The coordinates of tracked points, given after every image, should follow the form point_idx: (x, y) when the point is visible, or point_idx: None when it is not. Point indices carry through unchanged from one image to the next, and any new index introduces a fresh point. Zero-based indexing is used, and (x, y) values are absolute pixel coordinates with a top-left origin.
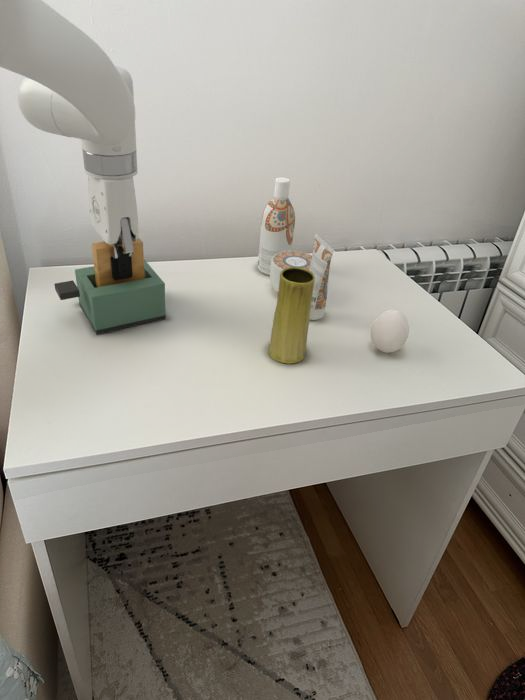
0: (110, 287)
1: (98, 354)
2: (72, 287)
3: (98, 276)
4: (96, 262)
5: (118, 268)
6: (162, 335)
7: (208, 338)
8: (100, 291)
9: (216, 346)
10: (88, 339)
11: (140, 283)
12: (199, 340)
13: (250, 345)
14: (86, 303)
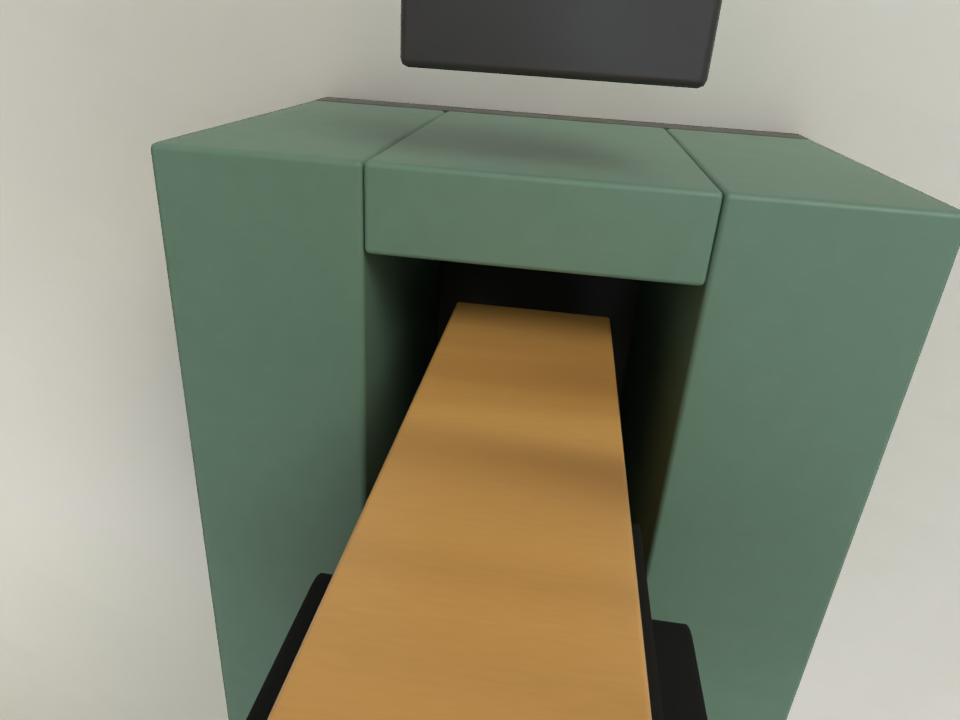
0: (308, 401)
1: (87, 16)
2: (511, 6)
3: (438, 381)
4: (432, 499)
5: (302, 639)
6: (188, 448)
7: (101, 604)
8: (253, 279)
9: (29, 597)
10: (289, 18)
11: None
12: (94, 566)
13: (9, 698)
14: (508, 133)
